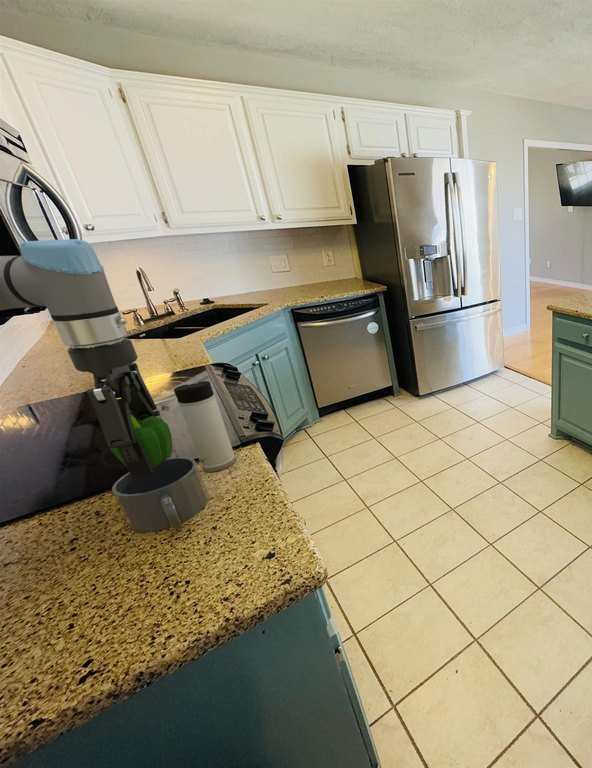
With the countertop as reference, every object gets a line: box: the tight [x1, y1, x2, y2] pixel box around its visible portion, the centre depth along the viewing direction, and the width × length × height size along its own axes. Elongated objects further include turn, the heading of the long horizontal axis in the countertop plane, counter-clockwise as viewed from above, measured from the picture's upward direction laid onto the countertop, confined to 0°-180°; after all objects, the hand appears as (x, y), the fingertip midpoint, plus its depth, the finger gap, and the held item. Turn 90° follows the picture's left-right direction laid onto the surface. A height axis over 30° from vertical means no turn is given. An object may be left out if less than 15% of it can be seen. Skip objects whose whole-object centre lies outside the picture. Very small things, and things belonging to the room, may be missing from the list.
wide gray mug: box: [111, 456, 210, 533], centre depth 75 cm, size 16×12×8 cm
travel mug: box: [173, 380, 236, 473], centre depth 88 cm, size 6×7×20 cm
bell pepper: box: [109, 414, 173, 468], centre depth 72 cm, size 8×8×10 cm
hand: (150, 462), depth 74 cm, fingers closed on bell pepper, 8 cm apart
